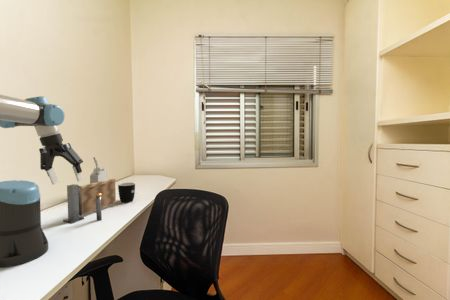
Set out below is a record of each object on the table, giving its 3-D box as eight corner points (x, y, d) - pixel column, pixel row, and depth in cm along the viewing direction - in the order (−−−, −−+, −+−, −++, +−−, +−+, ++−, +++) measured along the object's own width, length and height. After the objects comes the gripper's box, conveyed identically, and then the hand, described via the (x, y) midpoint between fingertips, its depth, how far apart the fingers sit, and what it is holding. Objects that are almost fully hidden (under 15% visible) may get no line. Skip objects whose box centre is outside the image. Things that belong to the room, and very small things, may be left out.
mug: (132, 203, 137) (132, 185, 137) (116, 203, 136) (115, 185, 136) (138, 197, 149) (138, 181, 149) (123, 198, 148) (122, 181, 148)
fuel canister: (97, 199, 145) (96, 157, 143) (88, 199, 145) (87, 157, 143) (107, 193, 160) (106, 155, 159) (99, 193, 160) (98, 155, 158)
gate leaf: (79, 215, 111) (78, 186, 110) (76, 215, 112) (75, 186, 111) (116, 202, 133) (115, 178, 132) (113, 202, 133) (112, 177, 133)
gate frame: (87, 225, 104) (86, 188, 103) (63, 221, 108) (62, 185, 107) (103, 219, 112) (102, 184, 110) (79, 215, 116) (78, 182, 115)
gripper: (81, 128, 102) (97, 175, 107) (34, 137, 108) (52, 181, 113) (66, 132, 95) (85, 182, 100) (17, 141, 101) (38, 188, 106)
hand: (68, 181), depth 107 cm, fingers open, 13 cm apart
